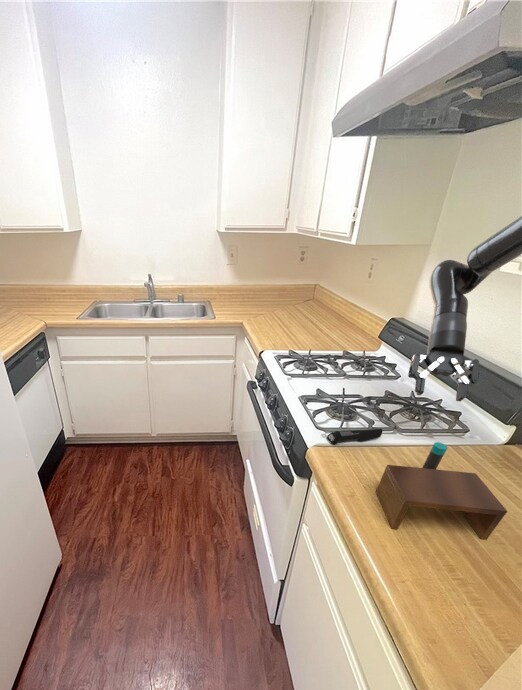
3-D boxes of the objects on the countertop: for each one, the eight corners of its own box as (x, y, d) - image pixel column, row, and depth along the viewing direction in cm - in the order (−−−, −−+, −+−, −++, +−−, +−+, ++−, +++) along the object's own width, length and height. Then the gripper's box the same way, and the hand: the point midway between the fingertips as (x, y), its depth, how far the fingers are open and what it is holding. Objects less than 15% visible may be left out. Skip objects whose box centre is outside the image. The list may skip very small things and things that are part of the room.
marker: (427, 476, 84) (444, 442, 79) (431, 483, 82) (450, 449, 76) (415, 475, 84) (431, 441, 79) (419, 482, 82) (437, 448, 77)
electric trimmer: (383, 441, 96) (386, 432, 95) (332, 445, 94) (335, 436, 92) (374, 434, 100) (378, 425, 98) (325, 438, 97) (328, 428, 95)
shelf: (459, 500, 77) (475, 473, 73) (486, 539, 68) (507, 511, 64) (375, 491, 79) (386, 464, 75) (391, 529, 70) (405, 500, 66)
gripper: (421, 325, 84) (413, 387, 81) (489, 332, 81) (483, 397, 78) (409, 339, 91) (401, 397, 88) (471, 346, 88) (464, 406, 85)
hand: (439, 397), depth 83 cm, fingers open, 8 cm apart
